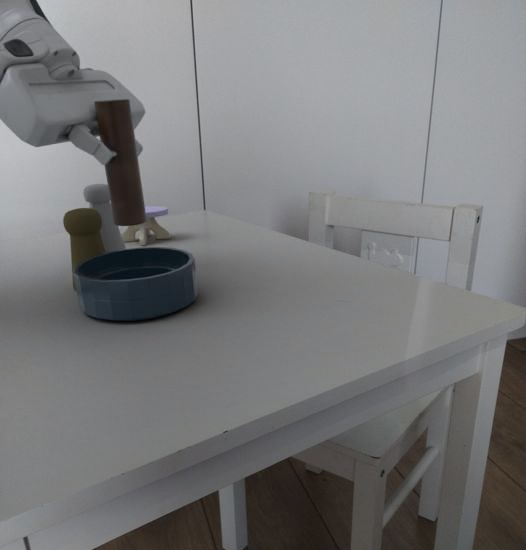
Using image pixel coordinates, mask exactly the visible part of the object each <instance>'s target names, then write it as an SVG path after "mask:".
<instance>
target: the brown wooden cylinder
mask: <svg viewBox="0 0 526 550" xmlns="http://www.w3.org/2000/svg"><path fill="white" fill-rule="evenodd" d="M94 105H95V111H96V117H97V123H98V129H99V135H100V136H99V140H100V141H102V142H103V143H107V142H108V143H109V144H110V145H111V146H112V148H113V149H115V151H116V152H117V157H116V158H115V159H114V161H113V163H110V164H106V165H104V170H105V177H106V184H107V185H108V189H109V195H110V203H111V207H112V214H113V220H114V224H115V225H117V226H118V227H129V226H133V225H139V224H142V223H145V222H146V221H147V219H146V212H145V206H146V205H145V199H144V191H143V183H142V177H141V170H140V163H139V156H138V155H137V148H136V141H135V139H136V135H135V134H136V133H135V129H134V127H133V119H132V112H131V105H130V99H118V100H102V101H94Z"/></svg>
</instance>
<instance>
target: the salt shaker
mask: <svg viewBox="0 0 526 550" xmlns="http://www.w3.org/2000/svg"><path fill="white" fill-rule="evenodd" d="M82 190H83V198H84V200H85V201H86V203H89V204H88V205H89V207H88V208H91V209H95V210H97V211H98V212H99V213H100V215H101V218H102V228H101V230H100V234H101V237H102V240H103V244H104V247H105V250H106V252H111V251H116V250H122V249H127V247H126V245H125V242H123V239H122V236H121V235H122V234H121V230H120V228H119V227H120V226H117V225H115V224H114V220H113V214H112V207H111V201H110V195H109V189H108V183H95V184H90V185H87V186H85V187H84V189H82Z"/></svg>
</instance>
